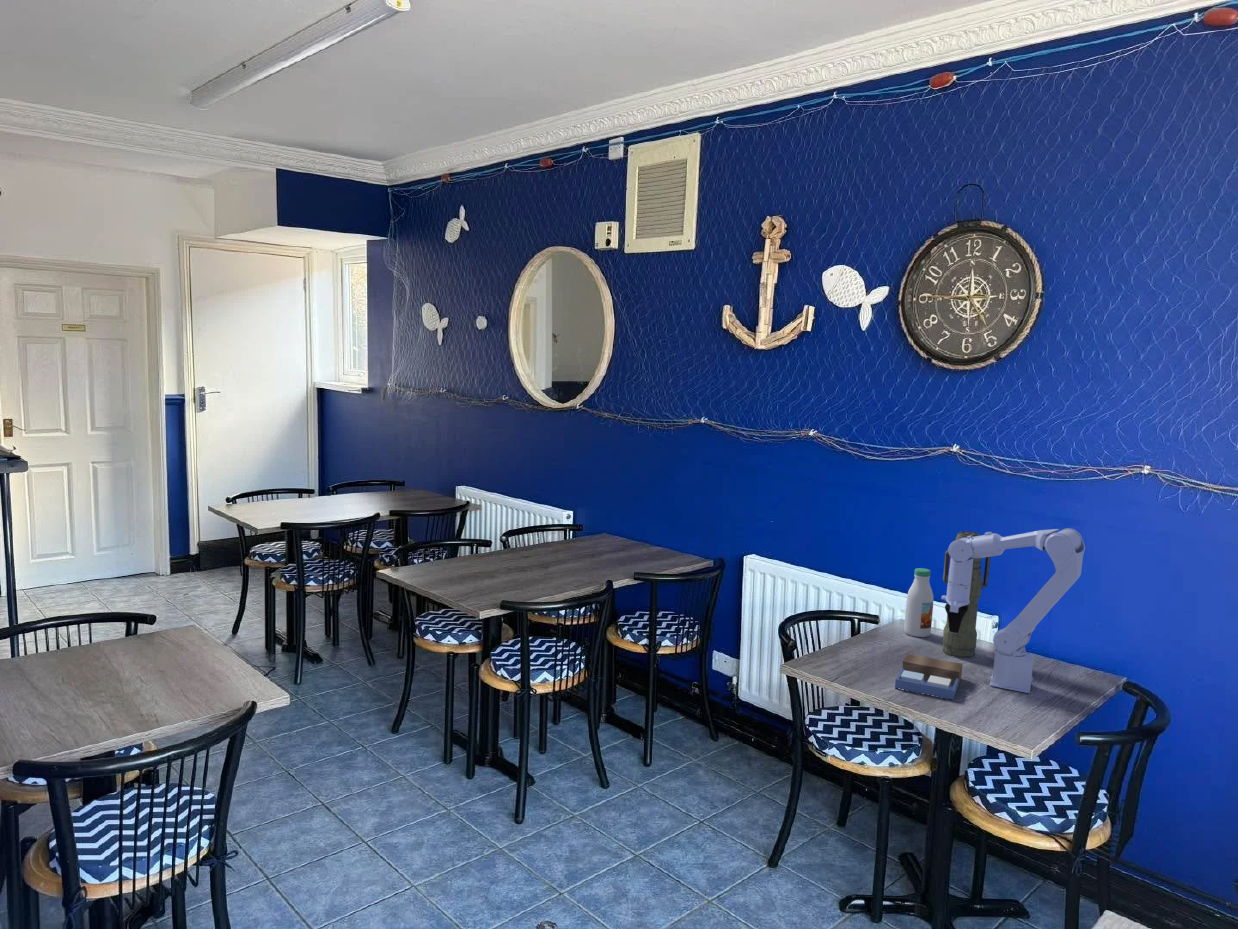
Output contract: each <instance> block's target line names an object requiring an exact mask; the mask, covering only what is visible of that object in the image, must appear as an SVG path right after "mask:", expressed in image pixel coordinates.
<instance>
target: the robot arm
mask: <svg viewBox="0 0 1238 929" xmlns="http://www.w3.org/2000/svg"><path fill="white" fill-rule="evenodd" d="M1027 547H1035V548H1037V549H1038V550H1040V551H1042V552H1043V551H1046V553H1047V555H1048V556H1049V558H1050V559H1051V561H1052V562H1053V566H1054V568H1055V572H1054V574H1053V575H1052V576H1051V577H1050V578H1049V579H1048V580H1047V582H1046V583H1044V585H1043V586H1042V587H1041V588H1040V590H1039V591H1038V592H1037V593H1036V594H1035V595H1034V596H1033V597H1032V598H1031V600H1030V601H1029V602H1028V603H1027V604H1026V606H1025V607H1024V608H1023V609H1022V610H1021V611H1020V612H1019V614H1018V615H1017V616H1016V617H1015V618H1014V619H1013V620H1012V621H1010V622H1009V623H1008V624H1007V626H1005V627H1003V628H1002V629H998V630H997V631H996V632H995V633H994V635H993V640H992V641H993V645H994V647H995V649H994V660H993V669H992V675H990V676H991V677H990V681H989V686H990V687H994V688H999V689H1000V688H1001V689H1005V690H1009V691H1010V690H1011V691H1015V692H1020V693H1021V692H1022V693H1027V694H1030V692H1031V686H1032V685H1033V683H1034V682H1033V681H1034V676H1033V669H1034V658H1035V657H1034V656H1035V655H1033V654H1029V653H1027V651H1026V647H1025V646H1027V645H1028V644H1029V642H1030V640H1031V637H1032V636H1031V635H1032V634H1033V632H1034V631H1035V630H1036V627H1037V625H1038V624H1039V623H1040V622H1041V621H1042V620H1043V619H1044V618H1045V617H1046V615H1047V614H1048V613H1049V612H1050V610H1052V608H1053V607H1054V606H1055V605H1056V604H1057V603H1058V602H1059V601H1060V599H1062V597H1063V596H1064V595H1065V594H1066V593H1067V592H1068V590H1069V589H1070V588H1072V586H1073V585H1074V584H1075V583H1076V582H1077V580H1078V579H1080V577H1081V575H1082V568H1083V561H1084V560H1083V559H1084V553H1085V550H1086V546H1085V542H1084V539H1083V537H1082V534H1081V533H1080V532H1079V531H1078V530H1076V529H1074V528H1069V527H1068V528H1067V527H1066V528H1063V529H1061V530H1060V529H1059V528H1053V529H1040V530H1039V529H1038V530H1035V531H1030V532H1029V531H1028V532H1024V533H1019V534H1013V535H1007V536H1001V534H999V533H995V532H994V533H993V532H992V531H986V532H985V533H984V534H983V535H981V536H975V537H973V536H972V535H971V536H967V538H961V539H958V540H953V541H952V542H950V544H949V546H948V549H947V550H948V553H949V555H950V559H949V569H948V585H947V587H946V595H945V594H944V595H941V600H943V601H945V602H946V604H945V605H944V610H945V613H946V614H947V615H948V622H949V630H950V632H954V633H958V631H959V629H960V626H961V622H962V619H963V617H964V615H965V613H966V612H967V610H968V606H967V604H969V603H970V600H969V596H970V587H971V578H972V569H973V559H974V558H982V559H984V558H986V557H990V556H991V557H995V556H997V557H998V556H1001V555H1002V554H1003V553H1004V551H1005V550H1009V549H1018V548H1027ZM991 557H990V558H991ZM947 615H946V616H947Z"/></svg>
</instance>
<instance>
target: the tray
mask: <svg viewBox="0 0 1238 929" xmlns="http://www.w3.org/2000/svg"><path fill="white" fill-rule="evenodd" d="M903 671H904V668H902V667H901V668H900V671H899V672H898V673H897V676H896V678H895V683H894V689H895V688H900V689H904V690H908V691H907V692H909V691H912V692H911V693H914V692H917V693H916V694H919V693H924V694H929V695H934V696H938V697H942V698H941V699H943V698H945V699H944V700H948V699H952V700H951V701H954V700H955V698H954V697H956V695H957V692H958V688H959V686H958V681H959V679H957V678H956V680H955V683H954V685H951V687H950V689H947V688H942V687H937V686H932V685H927V681H928V680H925V679H924V681H923V684H922V683H917V682H912V681H906V680H901V679H900V678H901V675H902V673H903ZM904 690H903V691H904ZM956 691H957V692H956ZM924 694H923V695H924ZM955 694H956V695H955ZM929 695H928V696H929ZM934 696H933V697H934ZM938 697H937V698H938Z"/></svg>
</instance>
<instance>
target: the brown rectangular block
mask: <svg viewBox="0 0 1238 929" xmlns="http://www.w3.org/2000/svg"><path fill="white" fill-rule="evenodd" d="M902 668H904V670H906V671H911V672H916V673H922V674H924V679H925V680H928V679H929V677H930V675H932V676H937V677H942V678H947V679H951V685H954V683H955V680H956V678H957V679H959V681H958V687H959V685H960V683H961V680H962V672H963V663H959V662H956V661H955V662H954V661H950V660H944V659H938V658H932V657H927V656H923V655H918V654H911V653H906V655H905V656H904V658H903V661H902V667H901V669H902Z"/></svg>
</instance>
